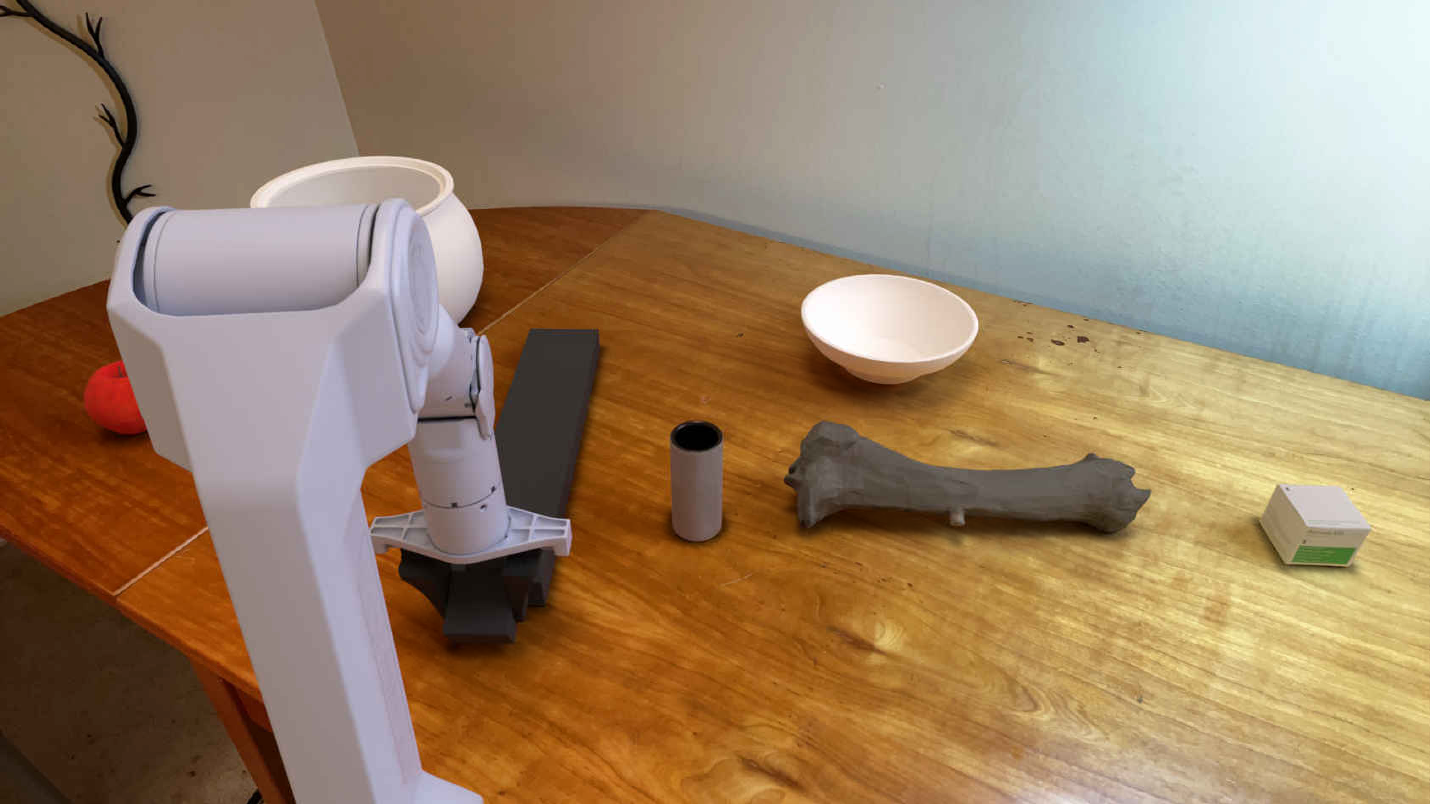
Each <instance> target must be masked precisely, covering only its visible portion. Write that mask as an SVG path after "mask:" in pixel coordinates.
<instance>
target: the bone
mask: <svg viewBox="0 0 1430 804" xmlns="http://www.w3.org/2000/svg"><path fill="white" fill-rule="evenodd" d="M799 446H800V447H799V450H800V453H799V456H798V458H796V459H795V460H794V462H792V463H791V464H790V466H789V467H788V469H787V470H788V472H787V474H785V476H784V477H783V482H784V484H785V486H788V487H789V488H790V489H792V490H794V491H795V492H796V493H797V500H796V501H797V502H796V507H797V508H796V511H797V520H798V523H799V524H800V525H801V526H802V528H803V529H806V530H810V529H811V528H812V527H813V526H815V525H816V523H818V522H820V521H822V520H823V519H824V518H825V517H829V516H831V515H834V514H836V513H838V512H839V511H842V510H846V509H872V510H882V511H898V512H906V513H907V512H908V513H917V514H925V515H926V514H927V515H935V516H940V517H949V524H950V526H952V527H960V526H964V525H966V522H965V518H986V519H1005V520H1018V521H1023V522H1032V523H1033V522H1038V523H1044V522H1054V521H1055V522H1056V521H1058V522H1078V523H1083V524H1087V525H1090V526H1091V527H1095V528H1096V529H1097V530H1099V531H1100V532H1101V531H1102V532H1104V533H1109V534H1114V533H1116V532H1119V531H1121V530H1124V529H1125V528H1127V527H1128V525H1129V524H1131V523H1132V522H1133V521H1135V520H1136V517H1137V515H1138V512H1139V511H1140V510H1141V508H1142V507H1143V506H1144V505H1145V504H1146V503H1147V502H1148V501H1149V499H1150V497H1151V494H1152V489H1150V488H1148V489H1143V488H1138V487H1136V486H1135V485H1134V483H1133V481H1132V478H1133V477H1134V476H1135V475H1136V469H1135V468H1134V466H1131V465H1129V464H1127V463H1124V462H1123V461H1120V460H1115V459H1113V458H1109V457H1099V455H1098V454H1096V453H1094V452H1089V453H1087V454H1086V455H1085V456H1084V457H1083V459H1080V460H1078V461H1076V462H1073V463H1069V464H1059V465H1054V466H1046V467H1045V466H1044V467H1031V468H1018V469H971V468H962V467H953V466H945V465H944V466H942V465H934V464H930V463H929V464H928V463H924V462H921V461H918V460H915V459H913V458H911V457H908V456H907V455H905V454H903V453H900V452H898V451H896V450H893V449H891V448H890V447H889V448H888V447H886V446H884V445H882V444H881V443H878V442H876V441H875V440H872V439H870V438H869V437H868V436H862V435H860V434H859V432H858V431H857V430H856V429H854V428H853V427H851V426H850V425H848V424H845V423H836V422H832V421H828V420H821V421H819V422H817V423H816V424H813V426H812V427H811V429H809V431H808V432H807V434H806V435H805V437H804V438H802V439H801V440H800V445H799Z"/></svg>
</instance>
